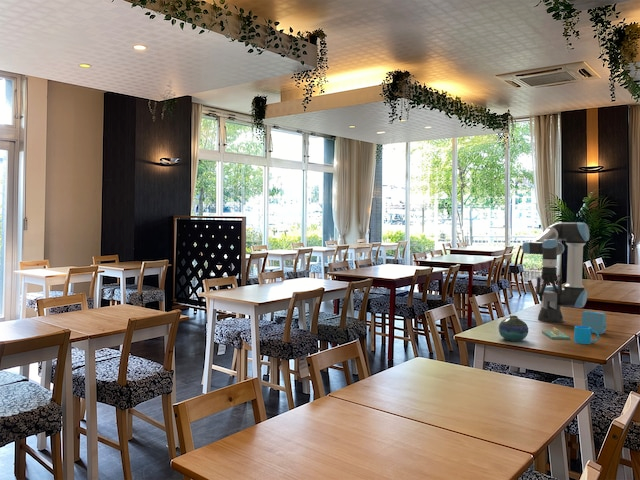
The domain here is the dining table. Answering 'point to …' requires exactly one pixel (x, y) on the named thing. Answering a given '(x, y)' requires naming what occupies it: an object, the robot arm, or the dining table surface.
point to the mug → (584, 335)
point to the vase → (513, 329)
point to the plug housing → (550, 299)
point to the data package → (594, 321)
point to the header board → (548, 333)
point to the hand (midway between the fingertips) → (548, 306)
